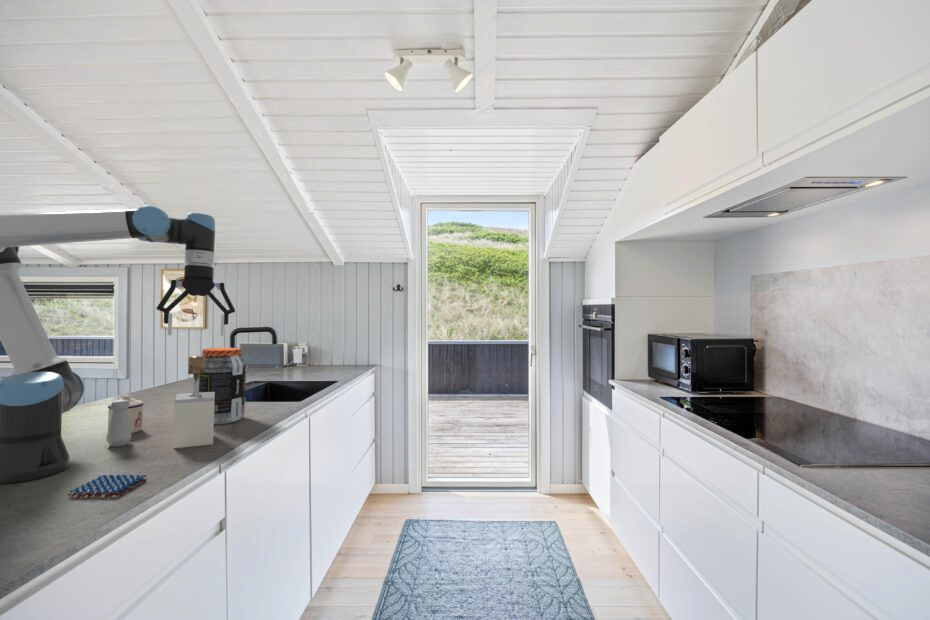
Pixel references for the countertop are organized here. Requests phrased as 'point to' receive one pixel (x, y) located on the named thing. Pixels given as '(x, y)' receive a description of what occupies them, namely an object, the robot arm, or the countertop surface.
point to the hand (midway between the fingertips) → (196, 335)
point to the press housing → (193, 419)
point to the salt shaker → (119, 424)
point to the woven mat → (107, 486)
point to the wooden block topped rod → (196, 371)
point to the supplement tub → (225, 382)
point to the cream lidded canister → (131, 413)
